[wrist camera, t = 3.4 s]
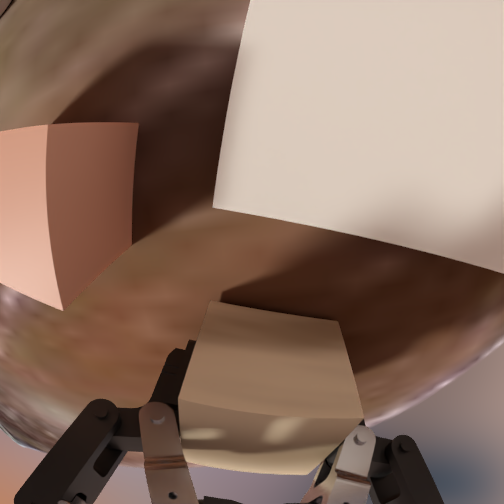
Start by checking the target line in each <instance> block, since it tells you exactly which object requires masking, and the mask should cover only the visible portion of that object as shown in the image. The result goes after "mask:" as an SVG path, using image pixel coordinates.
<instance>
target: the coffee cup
mask: <svg viewBox="0 0 504 504" xmlns="http://www.w3.org/2000/svg"><path fill="white" fill-rule="evenodd" d="M11 1H12V0H0V16H1V15H2V13H3V12H4V11H5V9H6V8H7V7H8V5H9V4H10V2H11Z"/></svg>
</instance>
